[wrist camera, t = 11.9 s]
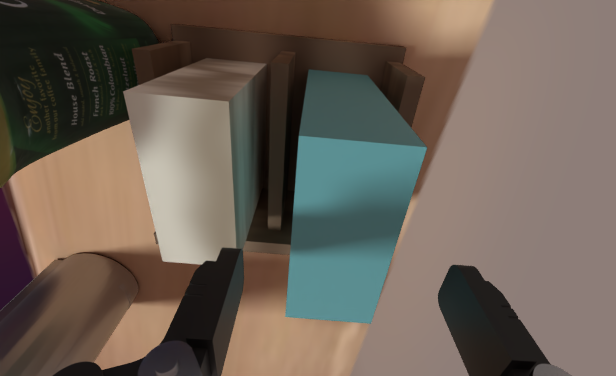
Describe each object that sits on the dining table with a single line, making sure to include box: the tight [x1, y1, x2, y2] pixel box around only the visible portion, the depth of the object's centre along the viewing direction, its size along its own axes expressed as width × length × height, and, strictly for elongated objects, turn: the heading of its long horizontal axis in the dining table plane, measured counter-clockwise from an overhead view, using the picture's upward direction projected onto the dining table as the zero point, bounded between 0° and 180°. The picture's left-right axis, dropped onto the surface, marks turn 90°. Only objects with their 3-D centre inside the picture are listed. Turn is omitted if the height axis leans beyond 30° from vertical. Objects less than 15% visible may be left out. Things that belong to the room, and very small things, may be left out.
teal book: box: [285, 70, 427, 324], centre depth 19 cm, size 4×10×14 cm, turn 175°
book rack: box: [123, 24, 425, 265], centre depth 20 cm, size 17×14×12 cm
